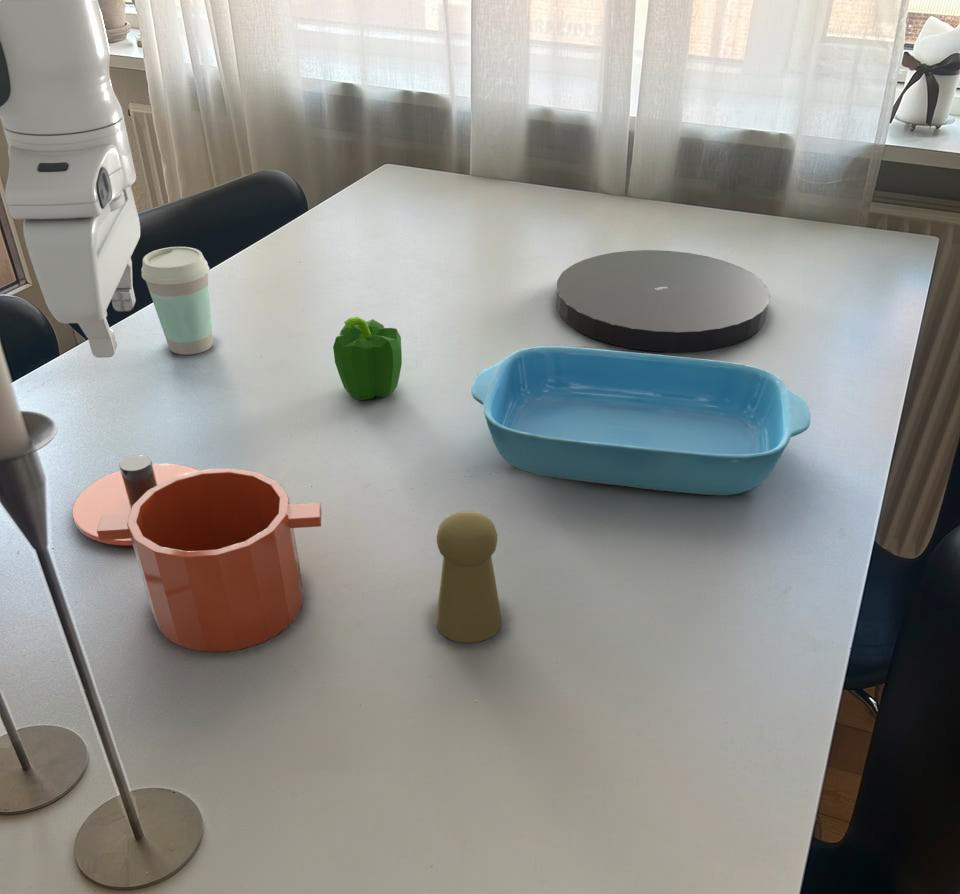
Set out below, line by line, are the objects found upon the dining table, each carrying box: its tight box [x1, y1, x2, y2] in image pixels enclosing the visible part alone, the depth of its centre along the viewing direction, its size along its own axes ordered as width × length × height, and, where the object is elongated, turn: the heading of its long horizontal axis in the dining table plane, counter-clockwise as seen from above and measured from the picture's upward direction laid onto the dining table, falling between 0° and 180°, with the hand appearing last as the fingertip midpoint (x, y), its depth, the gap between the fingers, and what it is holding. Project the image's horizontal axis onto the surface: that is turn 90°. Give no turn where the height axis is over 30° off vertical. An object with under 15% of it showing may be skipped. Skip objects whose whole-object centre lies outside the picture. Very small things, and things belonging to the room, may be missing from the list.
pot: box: [97, 467, 322, 653], centre depth 90 cm, size 14×19×10 cm
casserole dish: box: [470, 345, 811, 496], centre depth 112 cm, size 37×22×7 cm, turn 79°
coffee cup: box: [140, 246, 214, 356], centre depth 131 cm, size 8×8×12 cm
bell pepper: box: [332, 316, 403, 401], centre depth 122 cm, size 8×8×10 cm
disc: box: [555, 249, 771, 353], centre depth 143 cm, size 30×30×3 cm
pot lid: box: [71, 454, 200, 546], centre depth 104 cm, size 15×15×6 cm
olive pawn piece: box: [435, 510, 503, 644], centre depth 88 cm, size 6×6×11 cm
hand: (116, 330), depth 87 cm, fingers open, 8 cm apart
